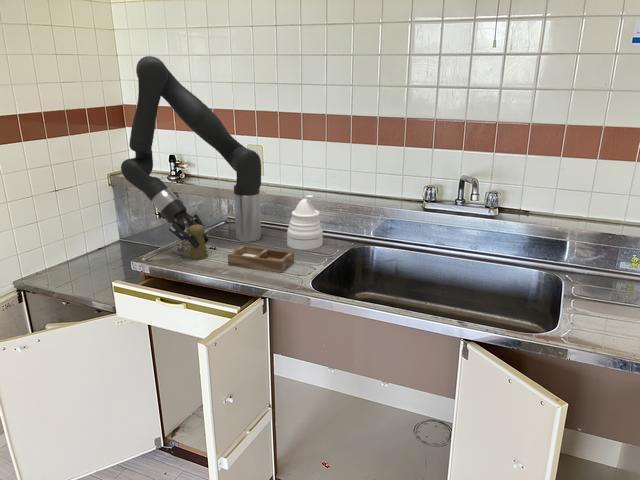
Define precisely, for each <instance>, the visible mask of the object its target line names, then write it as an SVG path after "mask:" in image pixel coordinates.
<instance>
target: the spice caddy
mask: <svg viewBox="0 0 640 480" xmlns="http://www.w3.org/2000/svg"><path fill="white" fill-rule="evenodd" d="M294 263H295V252H294V251H287V250H280V249H271V248H265V247H258V246H250V245H245V244H244V245H243V244H242V245H241V246H239V247H237V248H236V249H234V250H233V251H231V252H229V253H228V254H227V265H228V266H234V267H240V268H245V269H252V270H253V269H254V270H260V271H266V272H273V273H279V274H282V273H283V272H285V271H286V270H287V269H288V268H289V267H291V265H293V264H294Z"/></svg>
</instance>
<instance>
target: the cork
mask: <svg viewBox="0 0 640 480" xmlns="http://www.w3.org/2000/svg"><path fill="white" fill-rule="evenodd" d="M204 227H205V226H202V225H192V226H190V233H191V234H192V236H194V237H195V239H196V240H197V241H198V242H199V243H200V246H199V247H198V248H194V247H193V246H192V245H191V244H190V243H189V244H190V245H189V259H190V260H193V261H200V260H206V259H207V258H208V251H207V246H206V243H205V240H204V233H206V229H205V228H204Z"/></svg>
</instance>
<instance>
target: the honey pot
mask: <svg viewBox="0 0 640 480" xmlns="http://www.w3.org/2000/svg"><path fill="white" fill-rule="evenodd" d="M313 199H314V195H312V194H311V195H309V194H308V195H305V198H302V199H301V200H299V202H298V204H297V205H296V206H295V208H294V209H293V211H292V212H291V215H292V216H291V219H290V221H289V224H288V228H287V230H286V231H287V233H286V234H287V235H286V236H287V237H286V239H287V240H286V241H287V242H286V244H287V247H290V248H291V249H295V250H301V251H302V250H303V251H305V250H306V251H307V250H314V248H315V249H319V248H321V247H322V246H323V243H324V237H323V236H324V235H323V234H324V233H323V232H324V231H323V227H322V224H321V222H320V221H321V220H320V219H319V216H320V211H319V210H317V209H316V208H315V207H314V205H313V204H312V201H313ZM320 246H321V247H320ZM318 247H319V248H318Z"/></svg>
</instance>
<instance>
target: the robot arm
mask: <svg viewBox="0 0 640 480" xmlns="http://www.w3.org/2000/svg"><path fill="white" fill-rule="evenodd" d="M135 71H136V72H135V73H136V76H137V79H138V93H137V94H138V95H137V96H138V97H137V104H136V109H135V113H134V116H133V119H132V124H131V125H132V126H131V130H130V137H129V142H128V143H129V146H128V147H129V148H130V150H132V151H134V153H135V156H134V157H132V158H127V159H125V160H123V161H122V163H121V165H120V171H121V174H122V176H123V177H124V178H125V180H126V181H127V182H128V183H130V184H131V185H132V186H134V187H136V189H138V190H139V191H141V192H143V194H144V195H145V196H146V197H147V198H148V200H149V201H150V202H151V203H152V204H153V206H154V207H155V209H156V210H157V211H158V212H159V214H161V216H162V217H163V218H164V219H165V220H166V222H168V223H169V224H172V225H171V226H169V228H168V230H169V231H170V232H171V233H172V234H173V235H175V236H176V237H177V238H178V239H179V240H180V241H182V242H183V241H188V243H189V244H191V245H192V246H193V247H194V248H198V247H199V246H200V243H199V242H198V241H197V240H196V239H195V237H194V236H192V234H191V233H190V226H192V225H202V226H204V223H203V222H202V220H201V219H200V217H199V216H198V214H194V215H191V214H189V213H188V211H187V210H188V208H187V207H186V206H185V205H184V203H183V202H182V201H181V200H180V199H179V198H178V196H177V195H176V194H175V193H174V192H173V191H172V190H170V189H169V188H168V187H167V186H168V185H166V184H165V183H164V182H163V180H162V179H160V178H159V177H156V176H152V175H151V174H152V171H153V168H154V157H153V156H154V155H153V150H152V148H153V143H154V136H155V131H156V130H155V129H156V122H157V115H158V109H159V105H160V101H161V97H162V98H163V99H164V100H165V101H166V102H167V103H168V104H169V106H170V107H171V108H172V110H174V112H175V113H176V114H177V116H178V117H179V118H180V119H181V120H182V122H183V123H185V125H186V126H187V127H188V128H189V129H191V130H192V131H193V132H194V134H196V135H197V136H199V138H201V140H203V141H204V142H205V143H207V144H208V145H209V146H210V147H212V148H213V149H214V150H216V151H217V152H218V153H219V154H220V155H221V157H223V159H224V160H225V161H226V162H227V164H228V165H229V166H230V167H231V168H232V170H233V171H235V173H236V174H235V175H236V183H235V184H234V185H233V198H234V199H233V201H234V222H235V224H234V225H235V239H236V240H237V241H239V242H255V241H258V240H260V239H261V238H262V223H261V222H262V216H261V201H260V200H261V199H260V198H261V197H260V195H261V194H260V189H261V185H262V160H261V157H260V155H259V154H258V152H256V151H254V150H252V149H250V148H247V147H246V146H244V145H243V144H241V143H240V142H239V141H238V140H237V139H235V138H234V137H233V136H232V135H231V134H230V132H228V130H227V129H226V126H225V125H224V124H223V122H222V121H221V119H220V118H219V117H218V115H216V114H215V112H213V111H212V110H211V109H210V108H209V107H208V106H207V105H206V104H205V103H204V102H203V101H202V100H201V99H200V98H198V97H197V96H196V95H195V94H194V93H193V92H191V91H190V90H188V89H187V88H186V87H185V86H183V84H182V83H180V82H179V80H177V78H176V77H175V76H174V75H173V73H172V72H171V71H170V70H169V69H168V68H167V66H166V65H165V63H164V62H163V61H162V60H161V59H160V58H158V57H156V56H152V55H147V56H143V57H141V59H139V60H138V62H137V64H136V68H135ZM204 228H205V226H204ZM205 233H206V232H205ZM205 233H204V240H205V244H207V243H209V241H210V239H209V236H207V235H206V234H205Z"/></svg>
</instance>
